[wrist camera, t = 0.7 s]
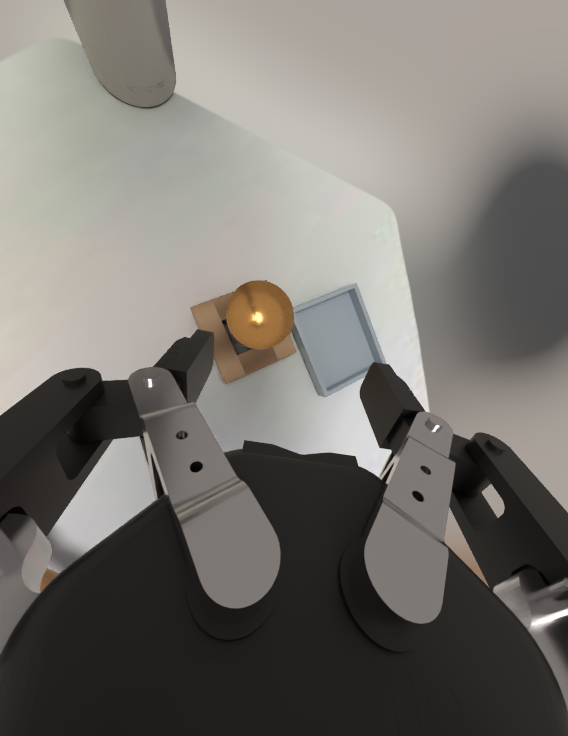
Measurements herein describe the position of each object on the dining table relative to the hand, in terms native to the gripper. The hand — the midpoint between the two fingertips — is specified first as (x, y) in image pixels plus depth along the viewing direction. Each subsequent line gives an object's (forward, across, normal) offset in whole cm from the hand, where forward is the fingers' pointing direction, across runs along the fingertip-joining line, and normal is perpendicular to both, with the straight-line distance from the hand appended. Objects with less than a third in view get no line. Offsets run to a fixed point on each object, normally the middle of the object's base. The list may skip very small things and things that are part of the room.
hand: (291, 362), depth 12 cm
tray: (+23, -8, +8) cm, 26 cm away
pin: (+20, +5, +9) cm, 22 cm away
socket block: (+20, +5, +9) cm, 22 cm away
